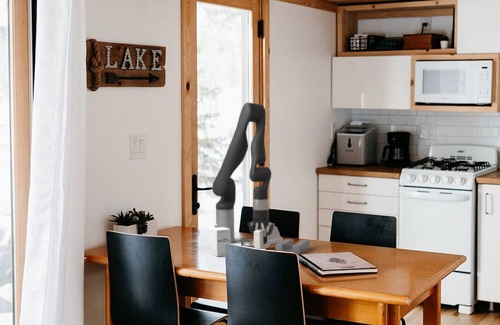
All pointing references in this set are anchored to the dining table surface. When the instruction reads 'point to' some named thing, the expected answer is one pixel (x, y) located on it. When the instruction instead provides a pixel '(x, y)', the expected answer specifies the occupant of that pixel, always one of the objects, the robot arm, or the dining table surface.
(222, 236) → the supplement box
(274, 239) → the hinge
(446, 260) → the dining table surface
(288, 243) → the door track
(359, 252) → the dining table surface
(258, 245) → the door panel
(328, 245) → the dining table surface
